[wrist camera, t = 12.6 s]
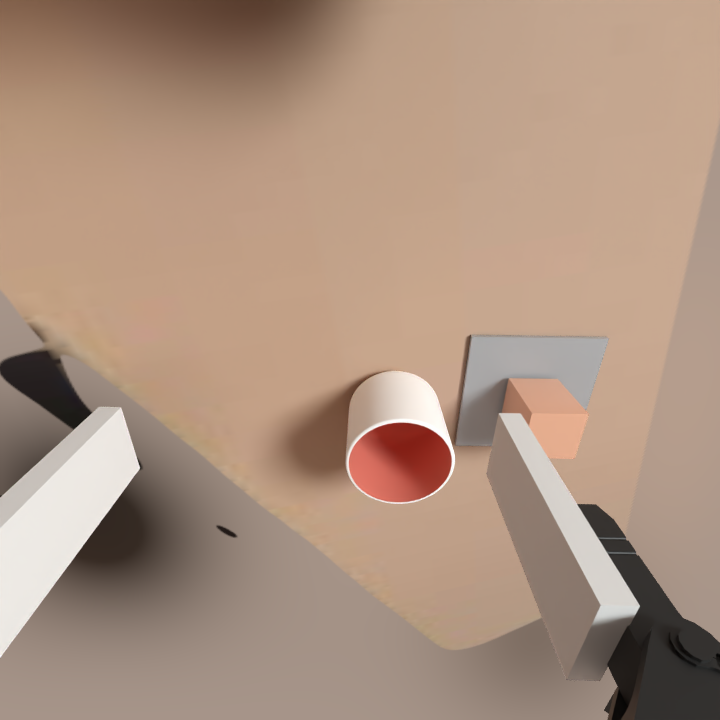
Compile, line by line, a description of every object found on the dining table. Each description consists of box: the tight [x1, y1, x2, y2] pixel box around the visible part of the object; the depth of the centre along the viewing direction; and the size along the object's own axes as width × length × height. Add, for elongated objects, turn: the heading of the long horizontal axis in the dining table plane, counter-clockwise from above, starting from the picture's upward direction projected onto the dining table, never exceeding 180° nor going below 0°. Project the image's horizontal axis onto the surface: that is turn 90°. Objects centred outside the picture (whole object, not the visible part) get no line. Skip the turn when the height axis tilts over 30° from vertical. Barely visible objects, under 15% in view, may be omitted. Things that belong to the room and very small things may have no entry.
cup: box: [345, 371, 455, 504], centre depth 41 cm, size 10×10×10 cm
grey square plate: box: [455, 335, 609, 446], centre depth 41 cm, size 14×14×7 cm
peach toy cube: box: [502, 378, 589, 459], centre depth 40 cm, size 5×5×7 cm
